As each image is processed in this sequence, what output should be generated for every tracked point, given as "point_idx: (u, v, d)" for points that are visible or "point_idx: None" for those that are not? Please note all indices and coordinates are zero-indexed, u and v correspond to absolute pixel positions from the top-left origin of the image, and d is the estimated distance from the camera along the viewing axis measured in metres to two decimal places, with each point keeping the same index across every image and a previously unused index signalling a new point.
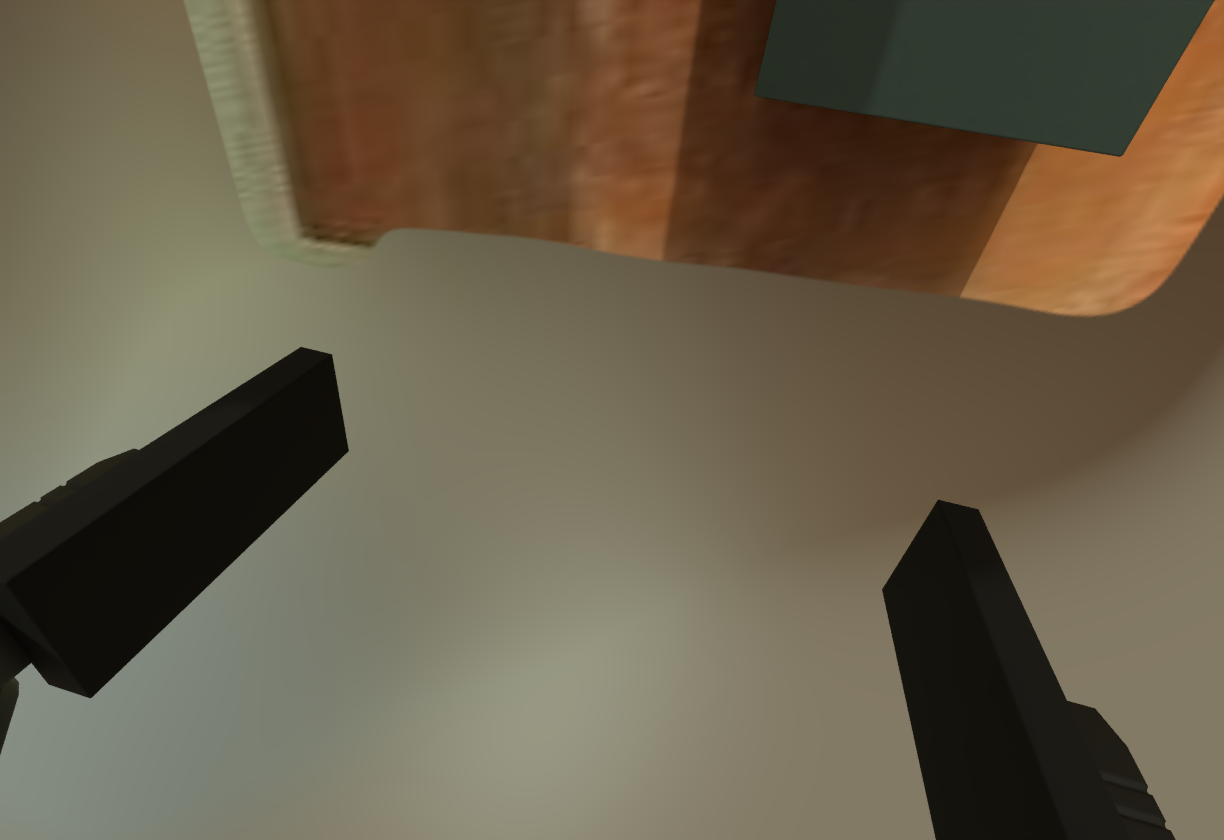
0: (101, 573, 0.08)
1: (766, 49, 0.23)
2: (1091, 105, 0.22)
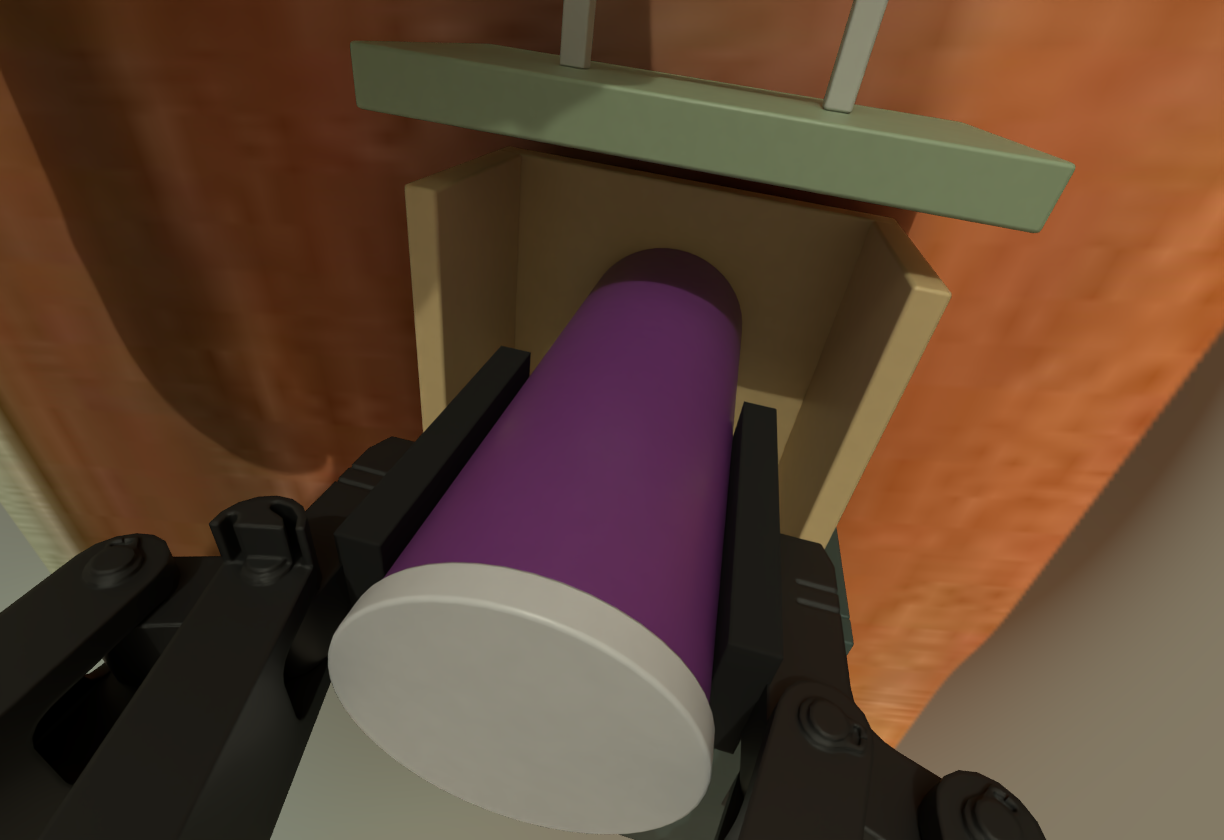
0: None
1: None
2: (676, 838, 0.25)
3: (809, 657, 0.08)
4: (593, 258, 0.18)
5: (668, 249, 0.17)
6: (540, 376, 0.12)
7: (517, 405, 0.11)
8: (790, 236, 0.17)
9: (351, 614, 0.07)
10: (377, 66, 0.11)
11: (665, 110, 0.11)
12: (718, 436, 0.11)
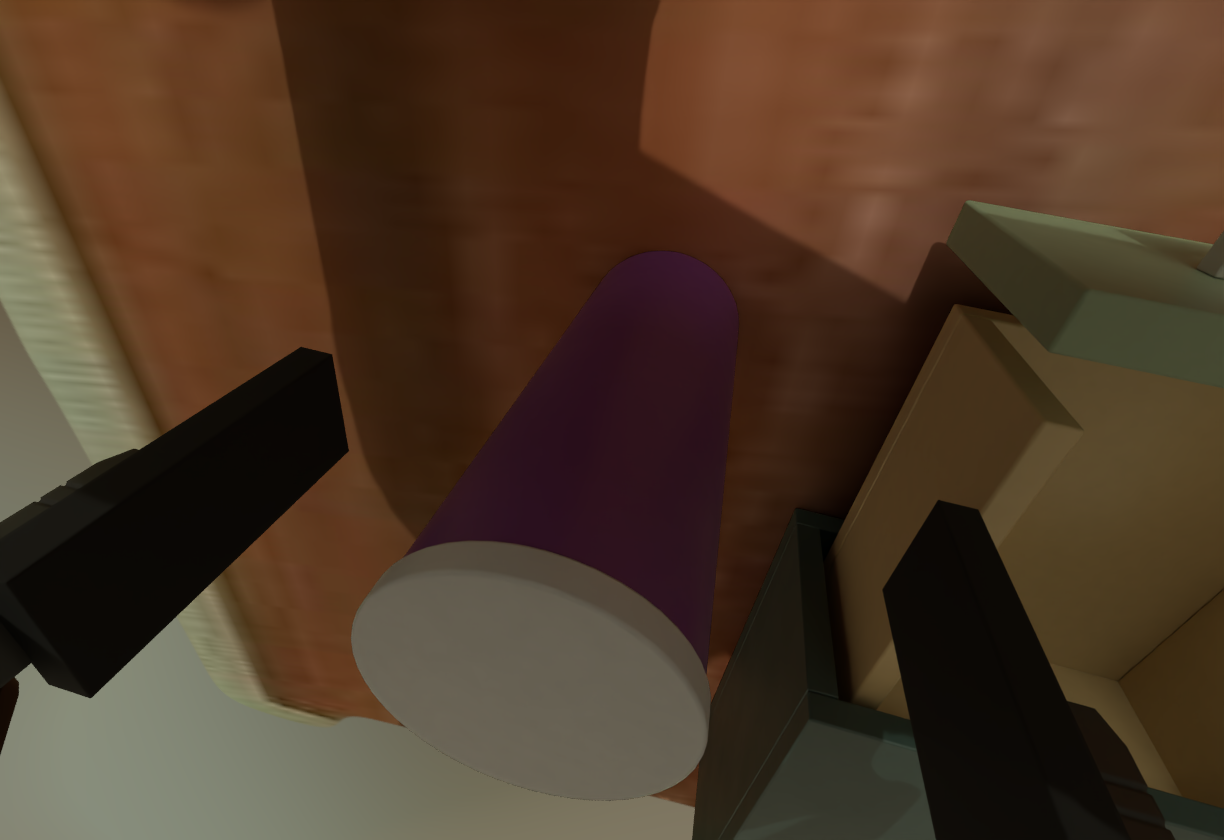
0: (100, 573, 0.08)
1: None
2: None
3: None
4: None
5: (667, 252, 0.18)
6: (545, 372, 0.12)
7: (524, 400, 0.11)
8: None
9: (375, 589, 0.08)
10: (1113, 317, 0.09)
11: None
12: (714, 429, 0.12)
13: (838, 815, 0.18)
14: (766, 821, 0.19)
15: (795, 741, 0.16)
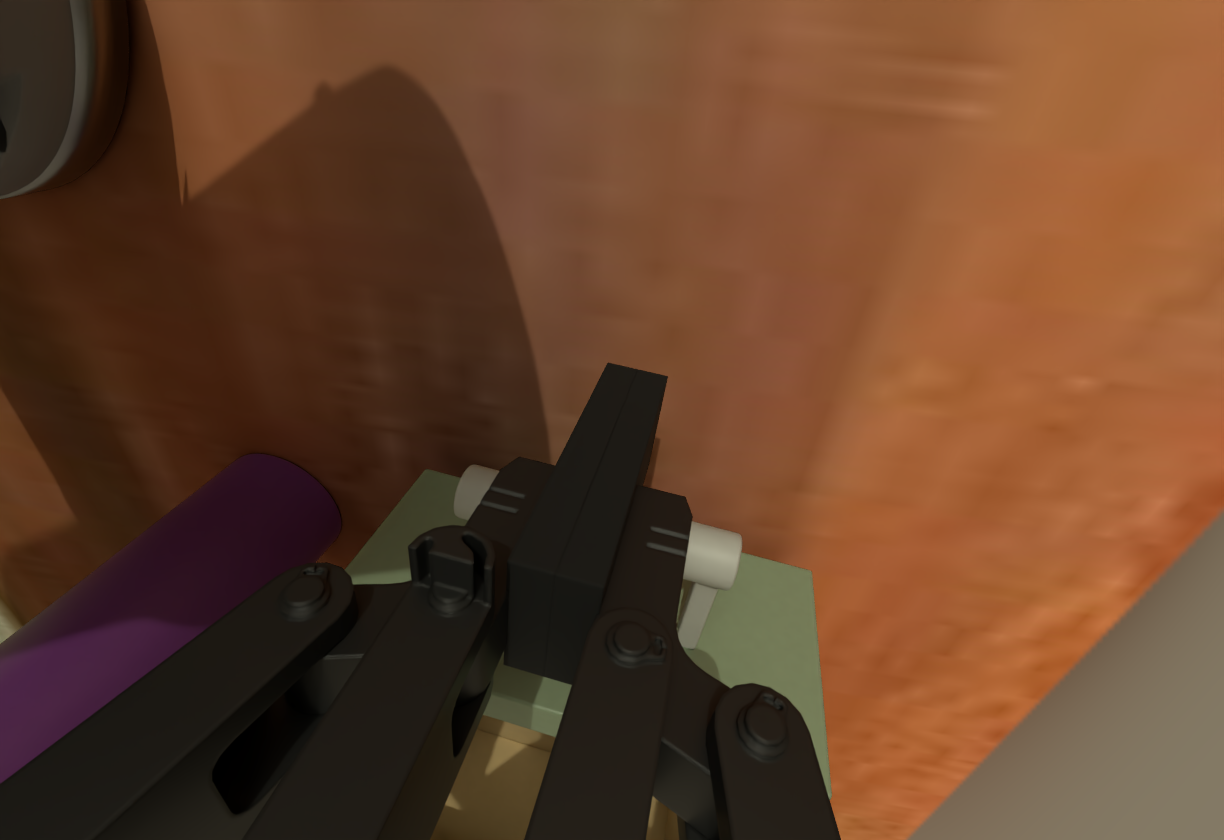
0: None
1: None
2: None
3: (644, 593, 0.09)
4: None
5: (264, 456, 0.23)
6: None
7: None
8: None
9: None
10: None
11: (534, 712, 0.14)
12: (148, 662, 0.17)
13: None
14: None
15: None
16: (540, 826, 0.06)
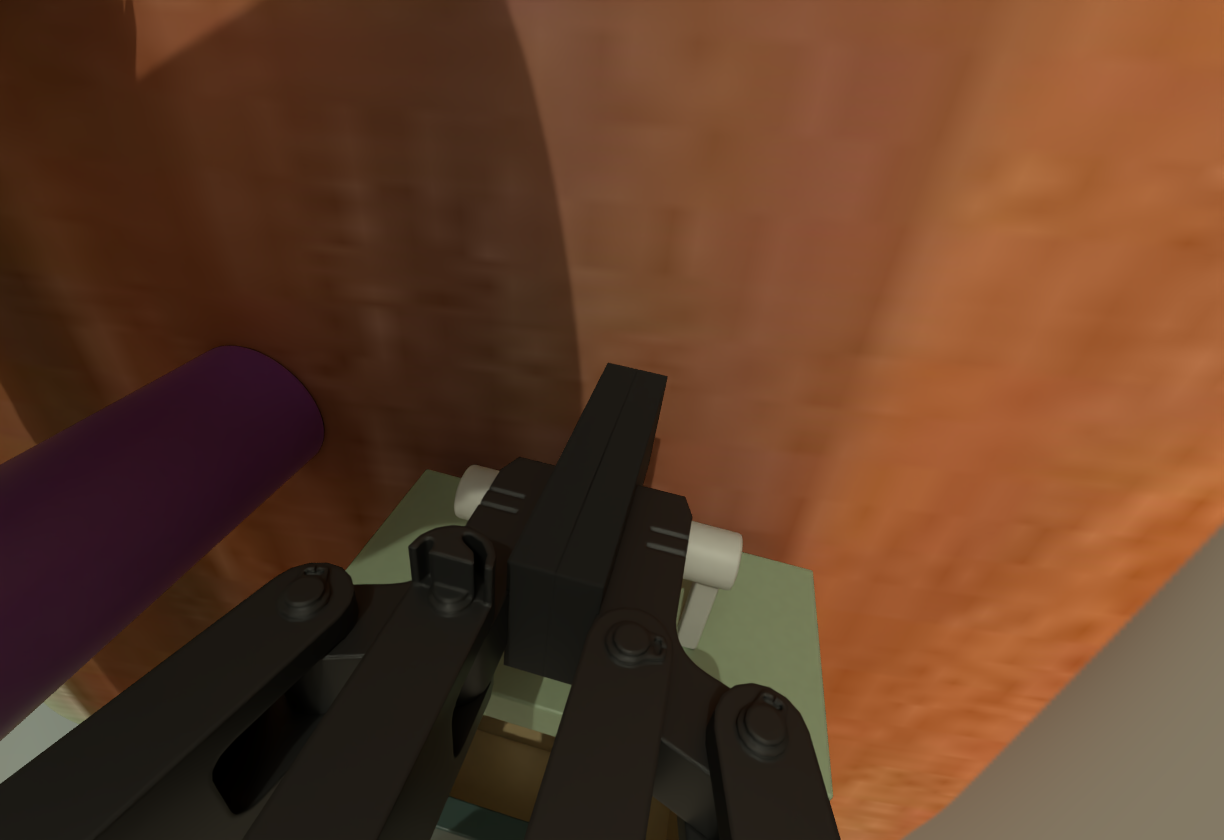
0: None
1: None
2: None
3: (644, 593, 0.09)
4: None
5: (234, 347, 0.20)
6: None
7: None
8: None
9: None
10: None
11: (535, 712, 0.14)
12: (81, 547, 0.14)
13: None
14: None
15: None
16: (540, 826, 0.06)
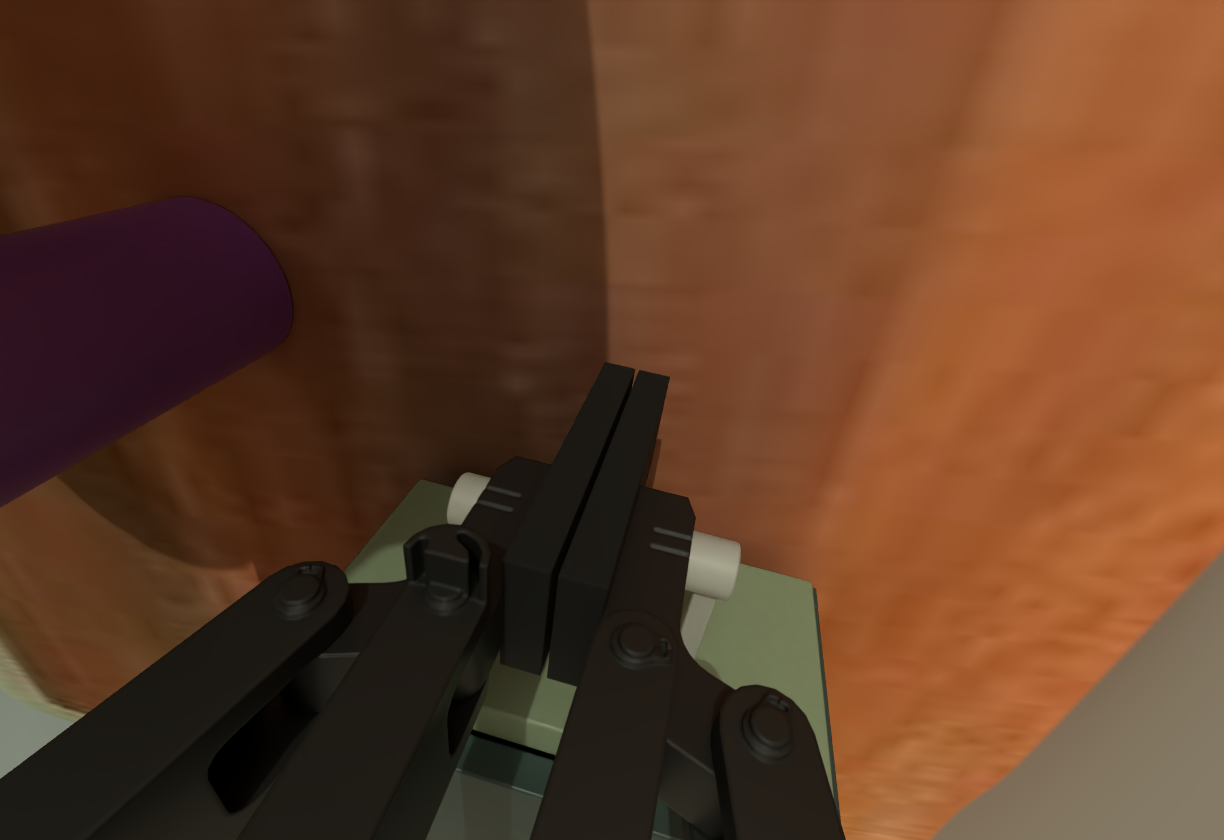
0: None
1: None
2: None
3: (647, 594, 0.09)
4: None
5: (185, 197, 0.17)
6: None
7: None
8: None
9: None
10: None
11: (528, 727, 0.13)
12: None
13: None
14: None
15: None
16: (545, 827, 0.06)
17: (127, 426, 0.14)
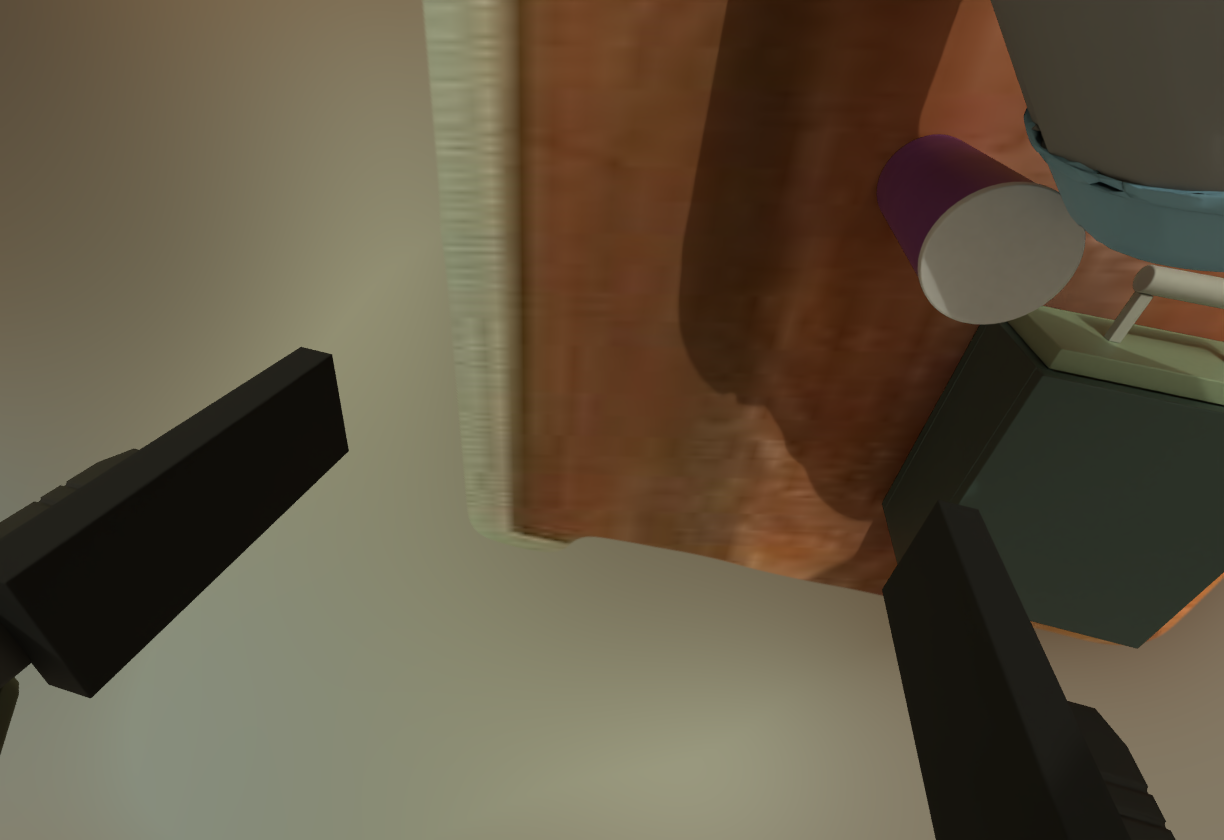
0: (100, 573, 0.08)
1: None
2: (1119, 626, 0.36)
3: None
4: None
5: (941, 135, 0.31)
6: (940, 168, 0.26)
7: (943, 174, 0.25)
8: None
9: (960, 204, 0.21)
10: (1069, 357, 0.29)
11: (1195, 381, 0.28)
12: None
13: (1042, 454, 0.31)
14: (992, 471, 0.32)
15: (1029, 396, 0.29)
16: None
17: None
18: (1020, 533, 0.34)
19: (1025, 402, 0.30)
